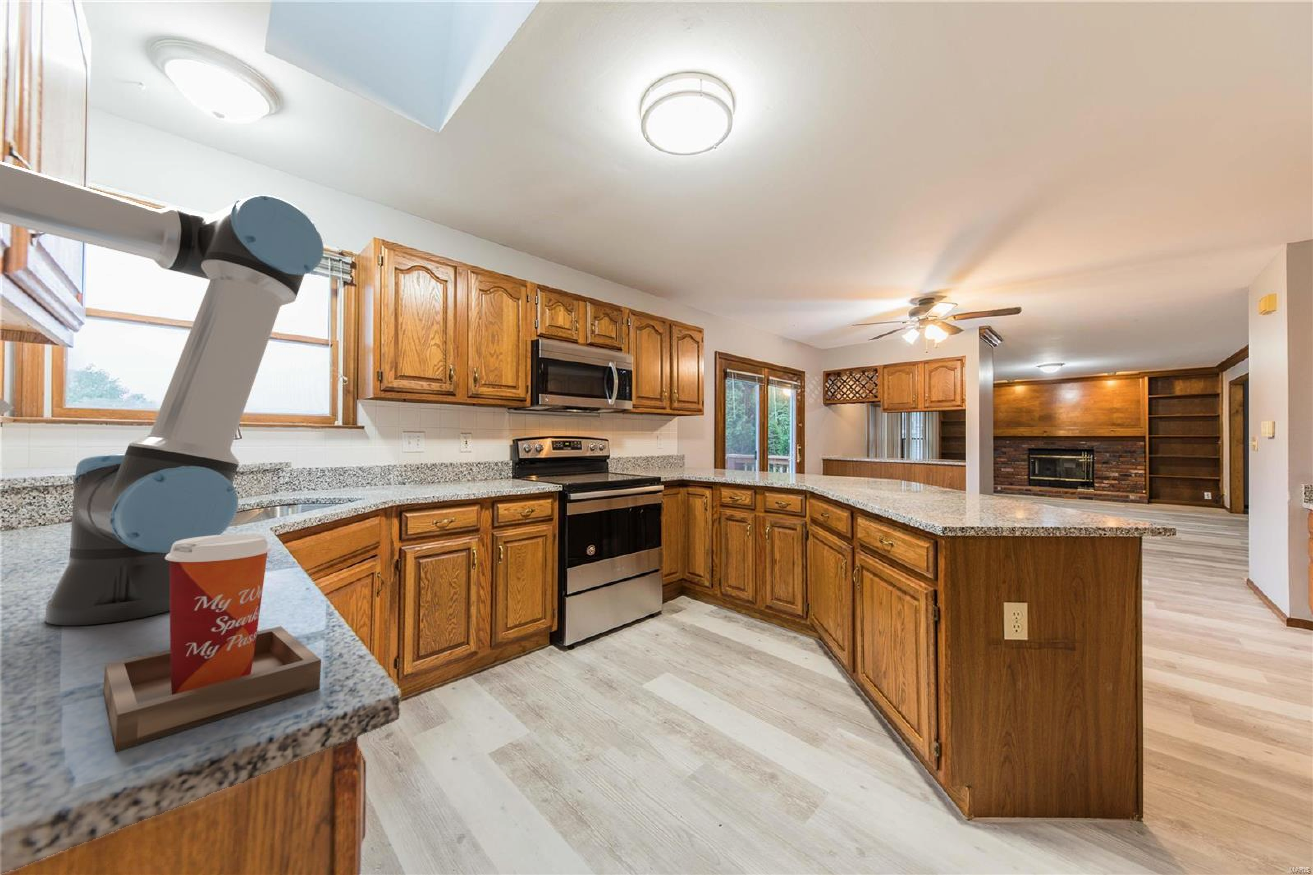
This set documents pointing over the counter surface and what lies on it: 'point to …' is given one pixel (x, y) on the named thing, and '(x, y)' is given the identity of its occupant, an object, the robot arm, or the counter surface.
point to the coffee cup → (214, 607)
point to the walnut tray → (202, 690)
